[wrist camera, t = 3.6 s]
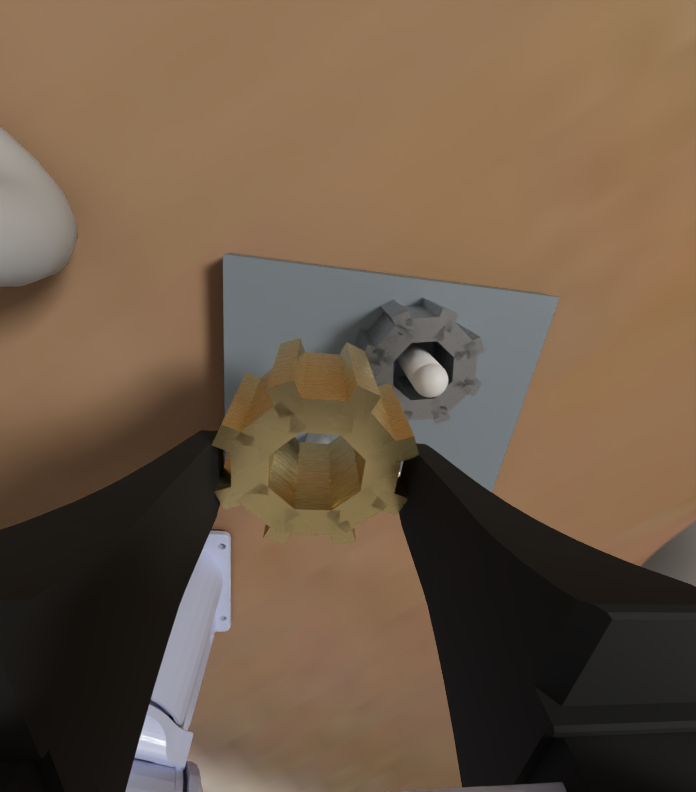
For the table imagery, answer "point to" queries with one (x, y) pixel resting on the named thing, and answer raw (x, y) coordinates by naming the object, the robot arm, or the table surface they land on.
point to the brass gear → (314, 445)
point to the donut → (31, 218)
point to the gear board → (359, 308)
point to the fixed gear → (449, 349)
